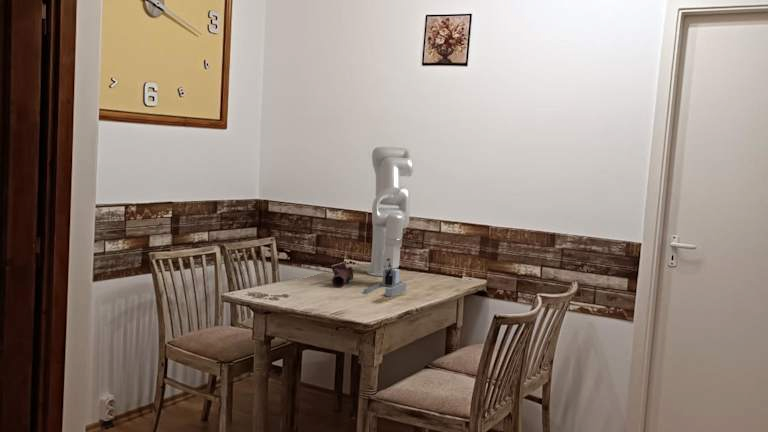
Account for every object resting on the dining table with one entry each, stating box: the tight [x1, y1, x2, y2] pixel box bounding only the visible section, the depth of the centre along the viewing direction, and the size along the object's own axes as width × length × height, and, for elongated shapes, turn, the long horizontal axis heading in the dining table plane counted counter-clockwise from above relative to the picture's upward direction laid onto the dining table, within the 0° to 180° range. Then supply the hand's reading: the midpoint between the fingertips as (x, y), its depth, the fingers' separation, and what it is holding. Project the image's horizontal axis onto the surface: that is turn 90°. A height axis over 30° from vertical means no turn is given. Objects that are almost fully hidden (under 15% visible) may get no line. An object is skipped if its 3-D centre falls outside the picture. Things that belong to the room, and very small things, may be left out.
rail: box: [363, 280, 407, 298], centre depth 325 cm, size 12×18×4 cm
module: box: [382, 268, 401, 287], centre depth 340 cm, size 6×5×7 cm
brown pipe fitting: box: [330, 261, 354, 288], centre depth 335 cm, size 6×17×10 cm, turn 173°
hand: (390, 282), depth 340 cm, fingers open, 5 cm apart
